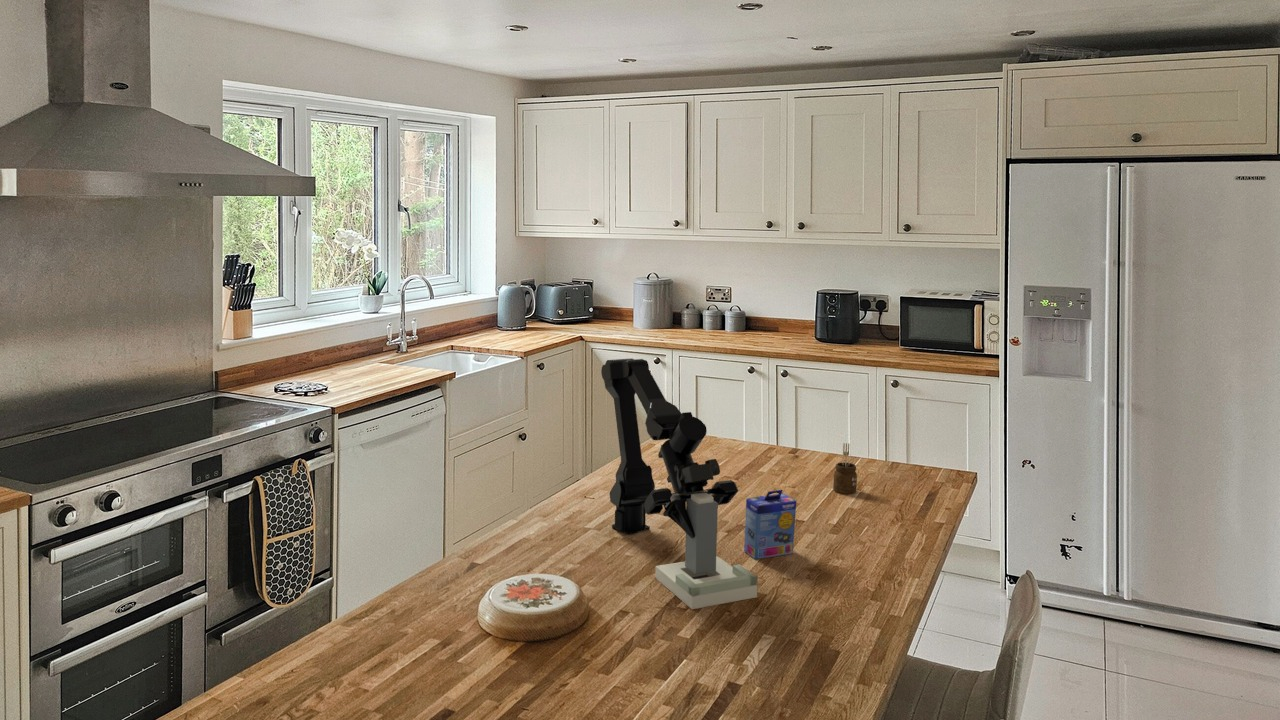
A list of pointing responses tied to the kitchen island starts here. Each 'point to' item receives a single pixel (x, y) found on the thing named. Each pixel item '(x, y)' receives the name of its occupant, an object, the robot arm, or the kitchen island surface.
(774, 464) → the kitchen island surface
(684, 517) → the robot arm
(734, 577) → the socket box
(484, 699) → the kitchen island surface
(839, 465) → the utensil holder
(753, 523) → the ink cartridge box
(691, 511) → the plug
